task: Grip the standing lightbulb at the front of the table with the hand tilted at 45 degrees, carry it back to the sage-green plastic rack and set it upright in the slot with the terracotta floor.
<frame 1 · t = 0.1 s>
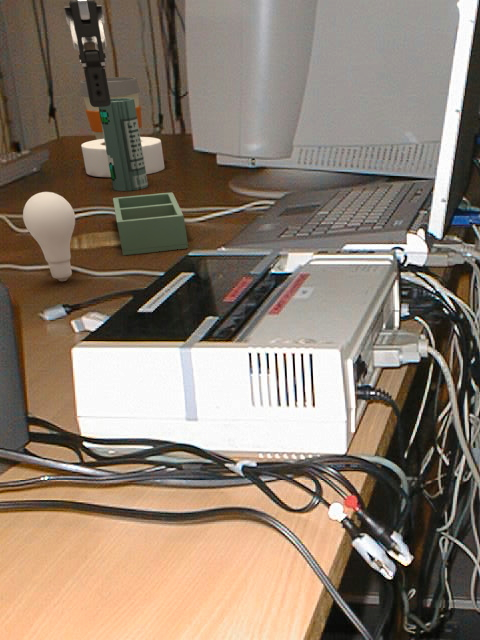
hand: (100, 102, 103), 21 cm above the table, tool pointing down, fingers open, 8 cm apart
lightbulb: (63, 282, 117), on the table
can: (130, 188, 169), on the table
reusable coffee cup: (121, 153, 206), on the table
rack: (151, 238, 135), on the table
tape roll: (126, 171, 185), on the table
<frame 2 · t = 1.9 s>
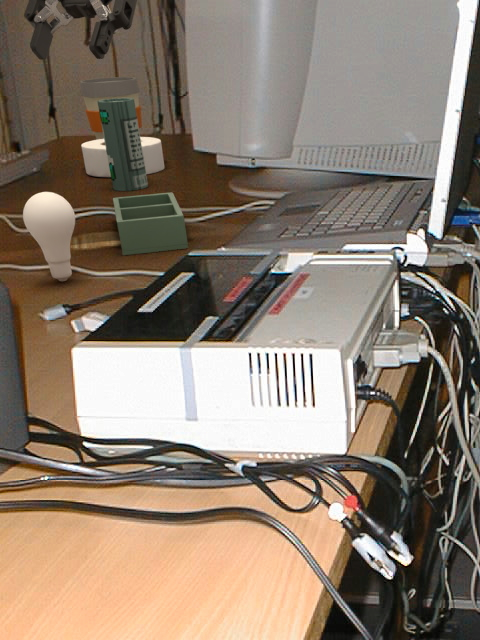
hand: (66, 54, 112), 25 cm above the table, tool tilted 45°, fingers open, 8 cm apart
nothing on the table moved.
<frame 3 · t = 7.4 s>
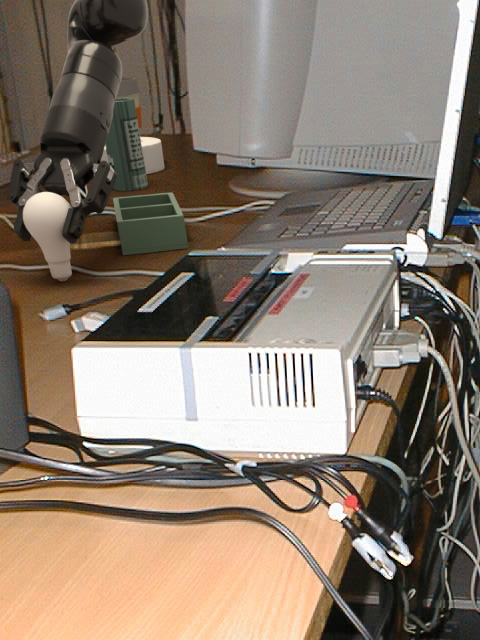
hand: (45, 238, 112), 6 cm above the table, tool tilted 45°, fingers closed on lightbulb, 6 cm apart
lightbulb: (63, 282, 117), on the table, touching gripper
everything else where it was.
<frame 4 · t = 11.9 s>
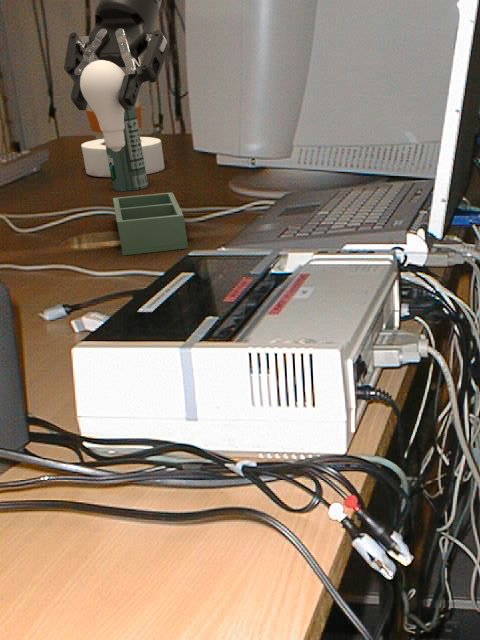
hand: (101, 105, 117), 19 cm above the table, tool tilted 45°, fingers closed on lightbulb, 6 cm apart
lightbulb: (117, 153, 121), point 13 cm above the table, touching gripper
everything else where it was.
when the fingers open (7 cm above the table, at t = 16.4 s): lightbulb stays where it is, resting on rack.
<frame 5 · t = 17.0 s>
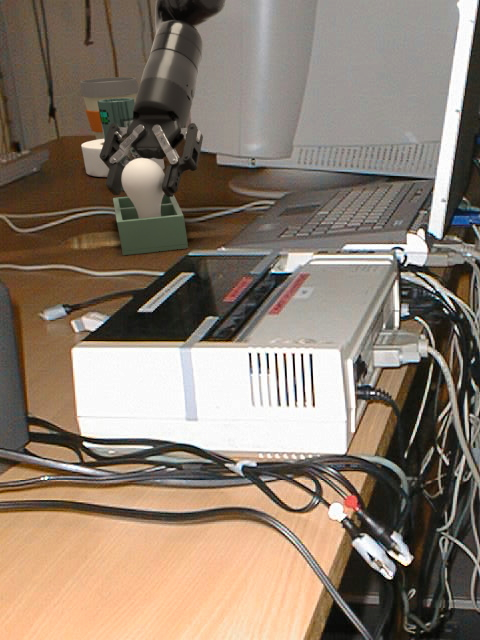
hand: (139, 192, 126), 8 cm above the table, tool tilted 45°, fingers open, 8 cm apart
lightbulb: (153, 239, 131), point 1 cm above the table, touching rack
everything else where it was.
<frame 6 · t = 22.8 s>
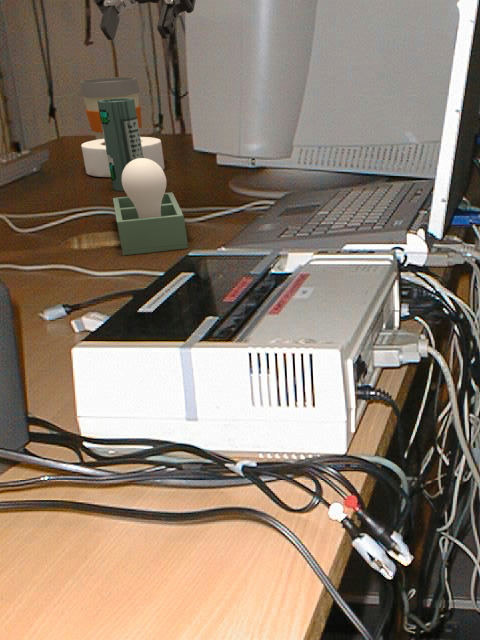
hand: (134, 35, 123), 27 cm above the table, tool tilted 45°, fingers open, 8 cm apart
nothing on the table moved.
at the end: lightbulb 0.2 cm from the target spot in the rack, point 0.6 cm above the rack's base; lightbulb tilted 0° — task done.
